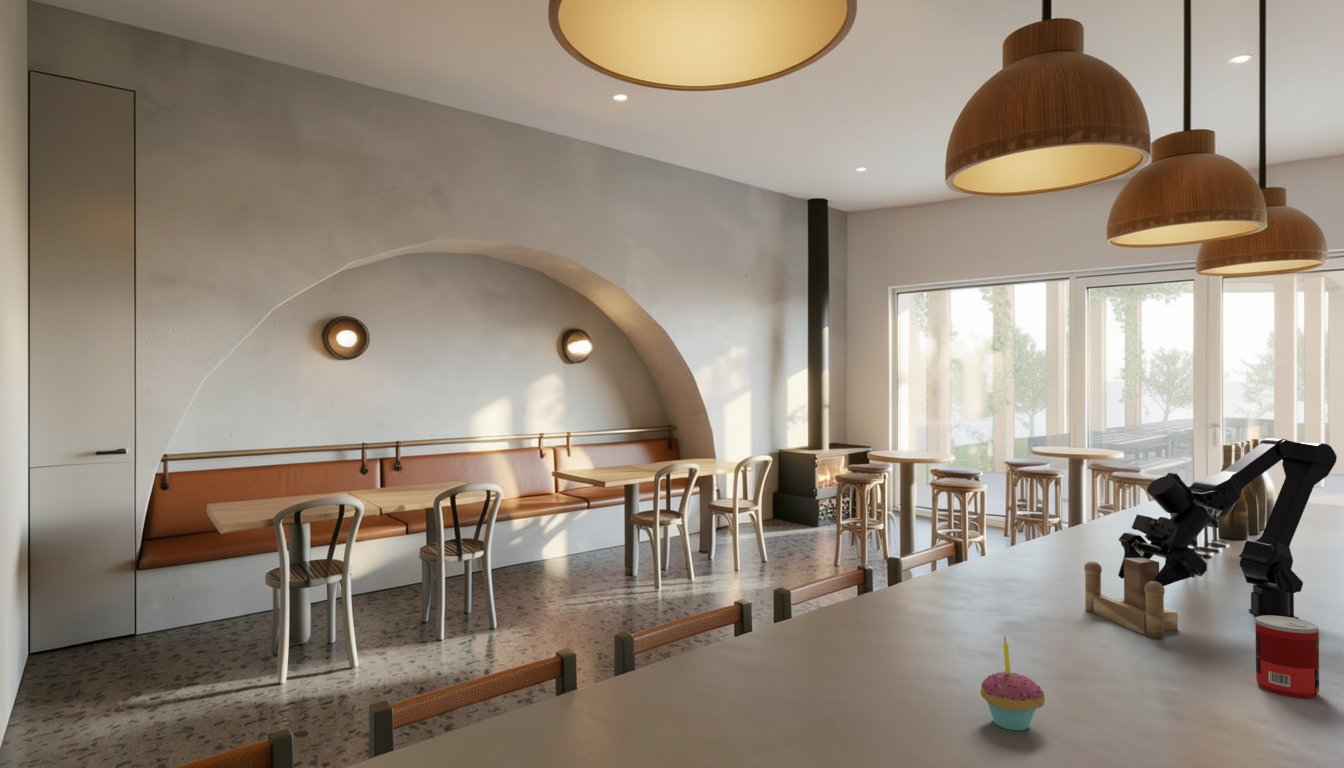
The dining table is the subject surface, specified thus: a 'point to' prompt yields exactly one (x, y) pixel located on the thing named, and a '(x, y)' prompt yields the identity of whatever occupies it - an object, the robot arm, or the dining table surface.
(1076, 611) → the dining table surface
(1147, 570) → the block
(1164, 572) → the robot arm
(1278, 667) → the canned food
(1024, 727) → the cupcake
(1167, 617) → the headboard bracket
